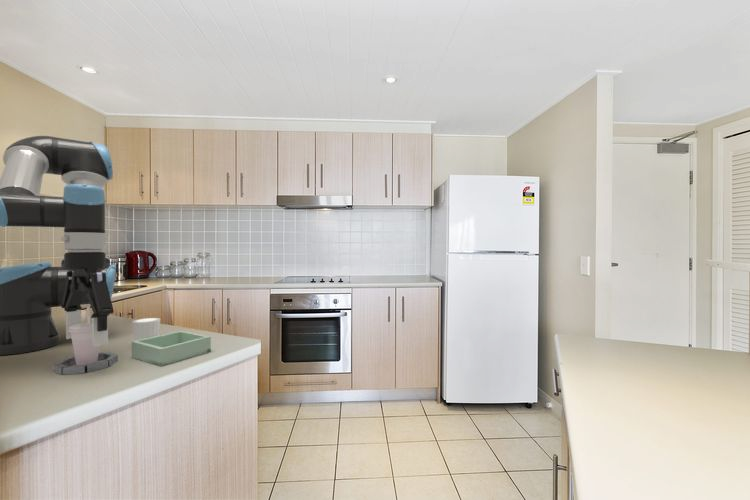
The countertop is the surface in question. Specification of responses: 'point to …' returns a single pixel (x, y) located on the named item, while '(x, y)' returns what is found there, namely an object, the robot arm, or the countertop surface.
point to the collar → (65, 369)
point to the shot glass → (146, 328)
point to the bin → (170, 347)
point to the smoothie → (84, 342)
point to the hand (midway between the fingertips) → (86, 341)
